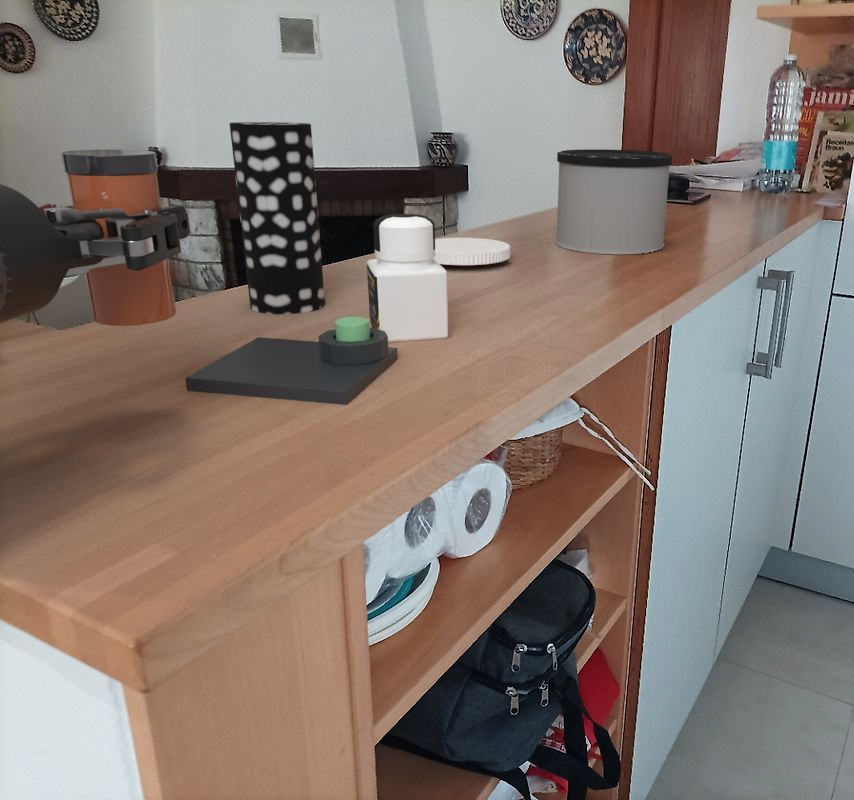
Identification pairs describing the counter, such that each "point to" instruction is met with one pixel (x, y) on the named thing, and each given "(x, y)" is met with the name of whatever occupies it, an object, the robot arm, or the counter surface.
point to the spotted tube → (278, 215)
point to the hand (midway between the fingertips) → (143, 218)
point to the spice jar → (107, 187)
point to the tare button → (352, 329)
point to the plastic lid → (470, 251)
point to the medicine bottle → (407, 280)
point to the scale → (298, 368)
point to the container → (612, 200)
